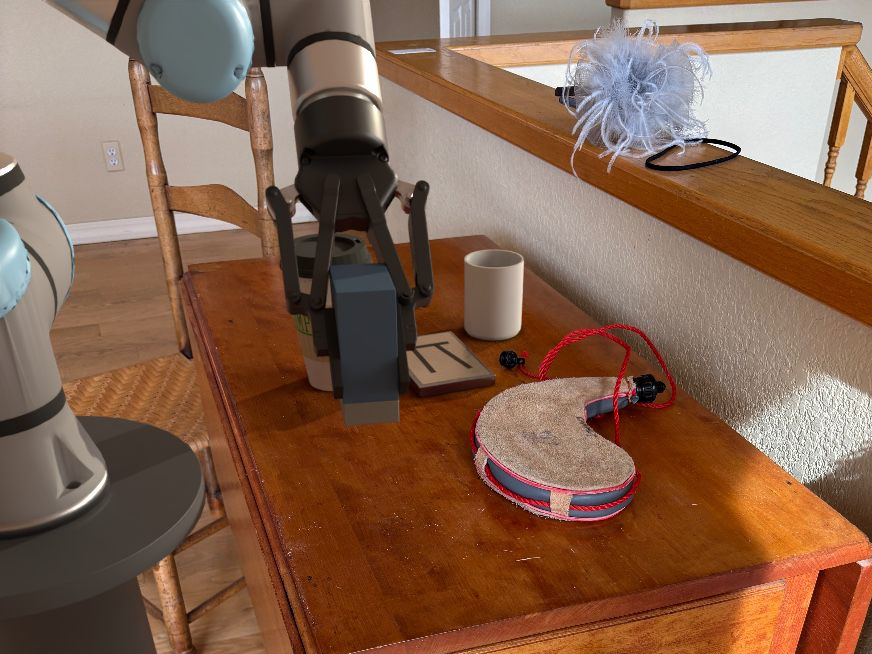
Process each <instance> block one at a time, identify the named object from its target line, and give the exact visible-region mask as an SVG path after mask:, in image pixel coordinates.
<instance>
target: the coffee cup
mask: <svg viewBox="0 0 872 654" xmlns="http://www.w3.org/2000/svg"><path fill="white" fill-rule="evenodd" d="M317 238H318V233H312V234H311V233H310V234H306V235H301V236H298V237H294V243H295V251H296V259H297V267H298V275H299V283H300V291H301V292H302V293H306V294H309V295H310V292H311V284H312V276H313V269H314V261H315V254H316V246H317ZM373 262H374V261H373V257H372V254H371V252H370V251H369V250H368V248H367V245H366V242H365V241H364V239H362V238H360V237H358V236H356V235H353V234H348V233H335V241H334V246H333V254H332V262H331V265H350V264H369V263H373ZM278 265H279V269H280V271H282V267H281V259H279V264H278ZM326 308H332V304H331V290H330V277H329V285H328V293H327V301H326ZM292 317H293V318H292V319H293V322H294V327H295V331H296V334H297V339H298V345H299V347H300V352H301V355H302V356H303V359H304V360H303V361H304V364H305V369H306V373H307V378H308V382H309V384H310V386H311V387H313V388H315V389H317V390H319V391H320V390H321V391H325V392H333V389H332V381H331V372H330V363H329V356H324V357H317V356H316V354H315V352H314V347H313V338H312V329H311V322H310V320H309V319H308V318H307V317H306V316H304V315H300V314H298V315H292Z"/></svg>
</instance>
